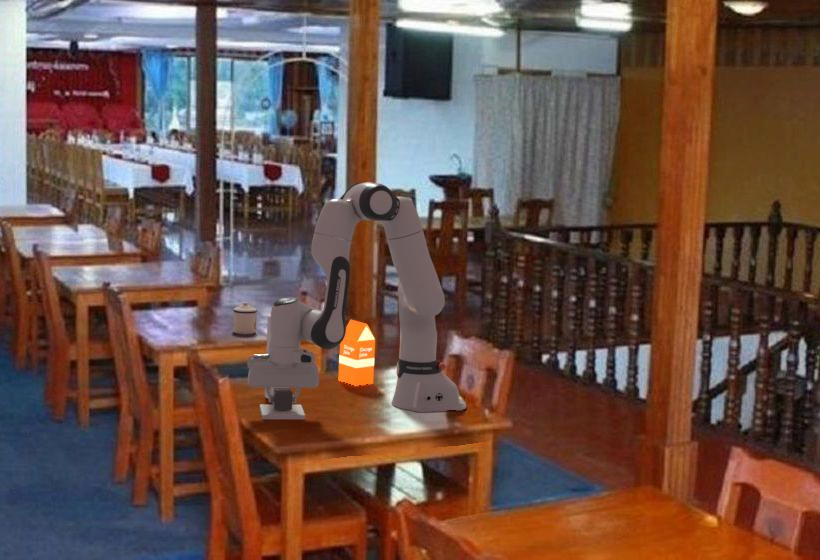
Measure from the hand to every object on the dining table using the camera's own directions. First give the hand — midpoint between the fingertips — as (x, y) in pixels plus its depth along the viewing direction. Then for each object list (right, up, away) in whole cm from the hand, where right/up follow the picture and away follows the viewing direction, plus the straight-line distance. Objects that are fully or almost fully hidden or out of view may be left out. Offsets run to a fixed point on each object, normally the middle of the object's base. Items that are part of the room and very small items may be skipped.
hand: (282, 402), depth 345 cm
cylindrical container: (-4, -1, +20) cm, 20 cm away
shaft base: (0, -3, 0) cm, 4 cm away
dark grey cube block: (0, -2, 0) cm, 2 cm away
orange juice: (+19, +2, +44) cm, 48 cm away
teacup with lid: (-28, +15, +119) cm, 123 cm away
